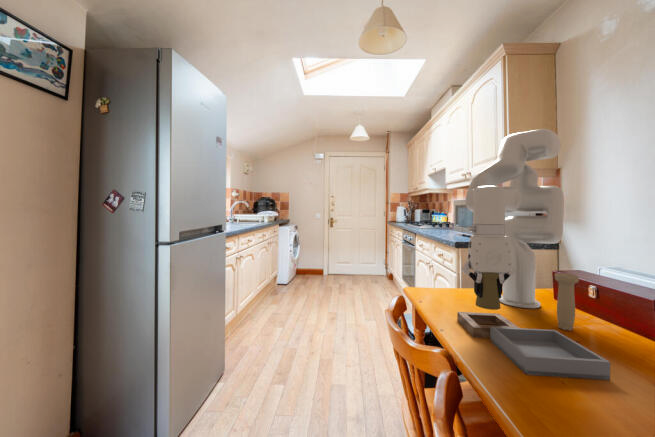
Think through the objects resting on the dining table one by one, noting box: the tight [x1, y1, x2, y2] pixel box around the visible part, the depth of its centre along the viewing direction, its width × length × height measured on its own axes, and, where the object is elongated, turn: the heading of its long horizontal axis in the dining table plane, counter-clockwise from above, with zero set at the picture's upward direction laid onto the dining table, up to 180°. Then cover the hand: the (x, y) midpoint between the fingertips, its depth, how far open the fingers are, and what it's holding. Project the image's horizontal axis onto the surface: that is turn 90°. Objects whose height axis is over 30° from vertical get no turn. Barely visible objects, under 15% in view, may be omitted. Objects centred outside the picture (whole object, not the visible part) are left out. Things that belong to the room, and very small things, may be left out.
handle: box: [554, 272, 580, 332], centre depth 77 cm, size 5×6×15 cm
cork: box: [475, 273, 501, 311], centre depth 77 cm, size 6×6×11 cm
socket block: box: [456, 311, 520, 339], centre depth 77 cm, size 12×12×2 cm
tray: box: [489, 327, 611, 381], centre depth 61 cm, size 15×15×4 cm
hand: (487, 295), depth 77 cm, fingers closed on cork, 4 cm apart
